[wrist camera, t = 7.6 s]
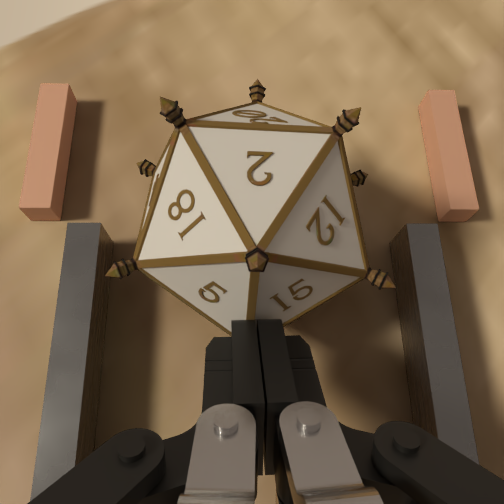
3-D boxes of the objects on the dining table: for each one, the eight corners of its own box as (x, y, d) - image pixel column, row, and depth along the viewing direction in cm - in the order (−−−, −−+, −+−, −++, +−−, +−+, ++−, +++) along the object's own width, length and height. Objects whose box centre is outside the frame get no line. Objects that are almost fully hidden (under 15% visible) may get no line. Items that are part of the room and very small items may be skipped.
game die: (204, 279, 23) (45, 120, 16) (357, 182, 21) (252, -33, 15) (253, 452, 16) (13, 300, 9) (479, 325, 15) (387, 49, 8)
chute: (417, 243, 20) (437, 223, 18) (494, 736, 14) (534, 783, 12) (83, 242, 19) (67, 222, 17) (21, 761, 13) (-13, 815, 11)
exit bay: (442, 107, 22) (454, 90, 21) (465, 221, 20) (479, 209, 19) (50, 101, 21) (40, 83, 20) (31, 220, 19) (18, 207, 18)
